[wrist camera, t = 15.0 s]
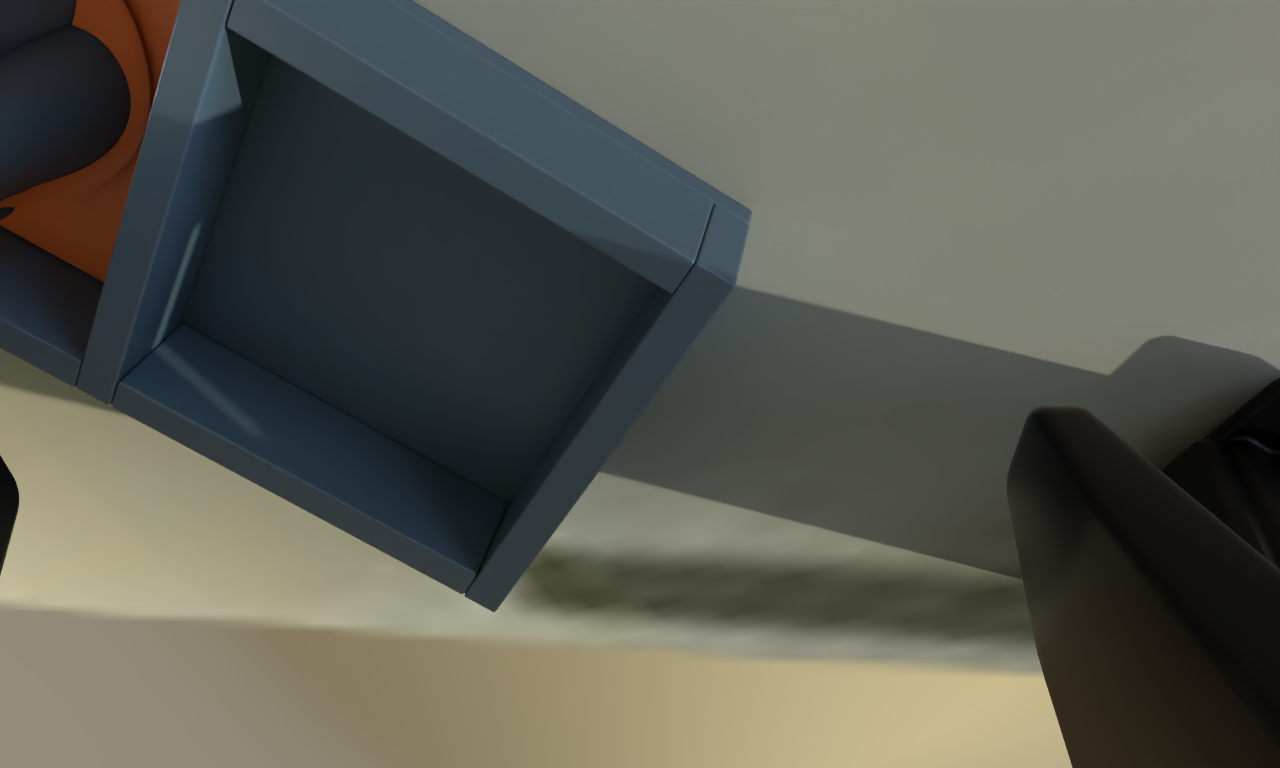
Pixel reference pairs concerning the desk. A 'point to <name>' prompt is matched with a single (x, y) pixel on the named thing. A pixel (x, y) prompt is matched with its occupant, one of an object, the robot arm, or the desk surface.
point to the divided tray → (375, 276)
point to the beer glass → (68, 97)
